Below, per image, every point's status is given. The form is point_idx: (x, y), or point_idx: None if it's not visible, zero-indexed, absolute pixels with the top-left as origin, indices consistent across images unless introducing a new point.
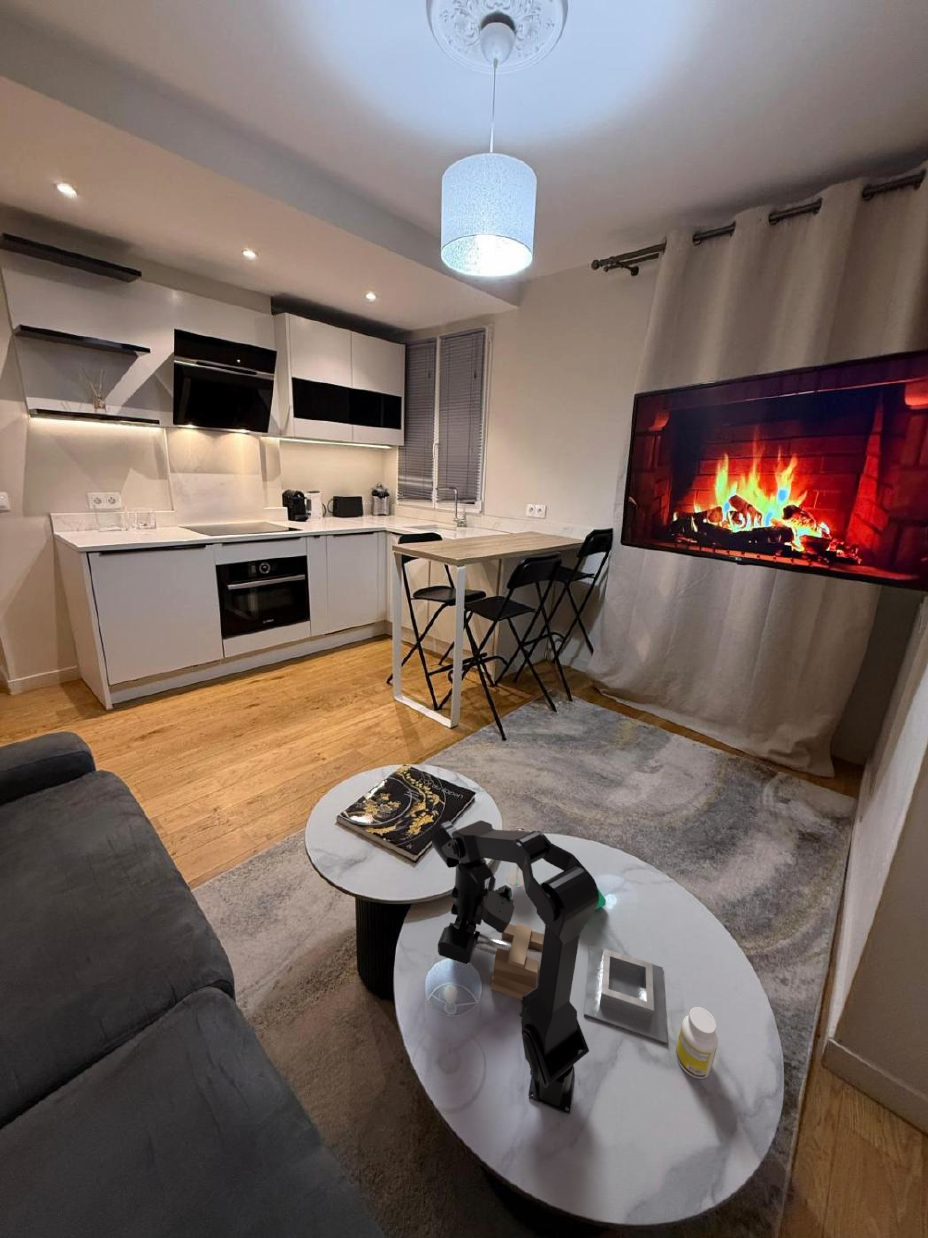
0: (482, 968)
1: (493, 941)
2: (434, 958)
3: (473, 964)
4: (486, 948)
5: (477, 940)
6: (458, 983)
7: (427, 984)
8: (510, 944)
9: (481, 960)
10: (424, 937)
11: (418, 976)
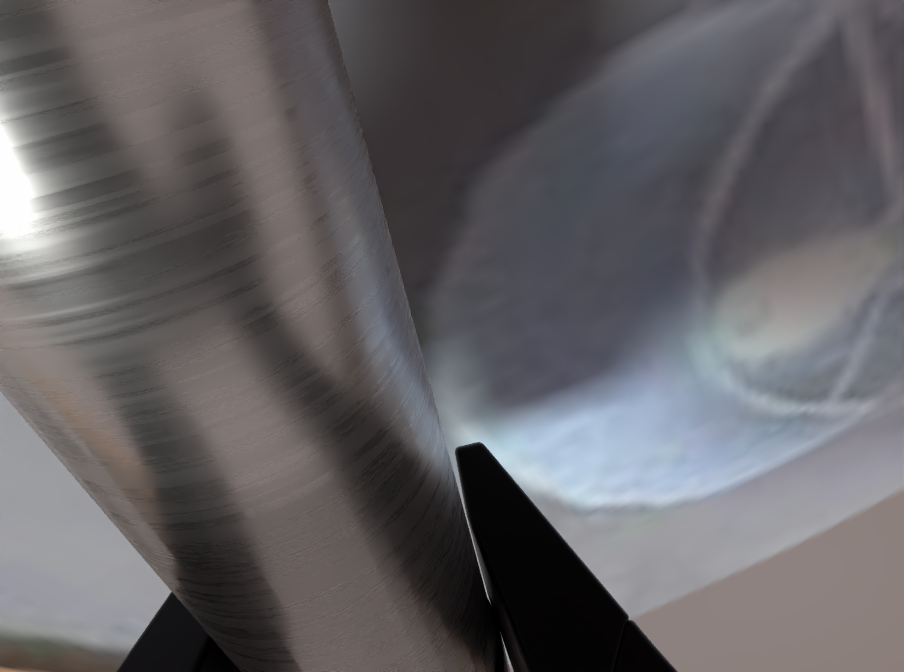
0: (412, 155)
1: (159, 319)
2: None
3: (427, 269)
4: (401, 326)
5: (414, 578)
6: (685, 289)
7: (760, 462)
8: None
9: None
10: None
11: (718, 525)
